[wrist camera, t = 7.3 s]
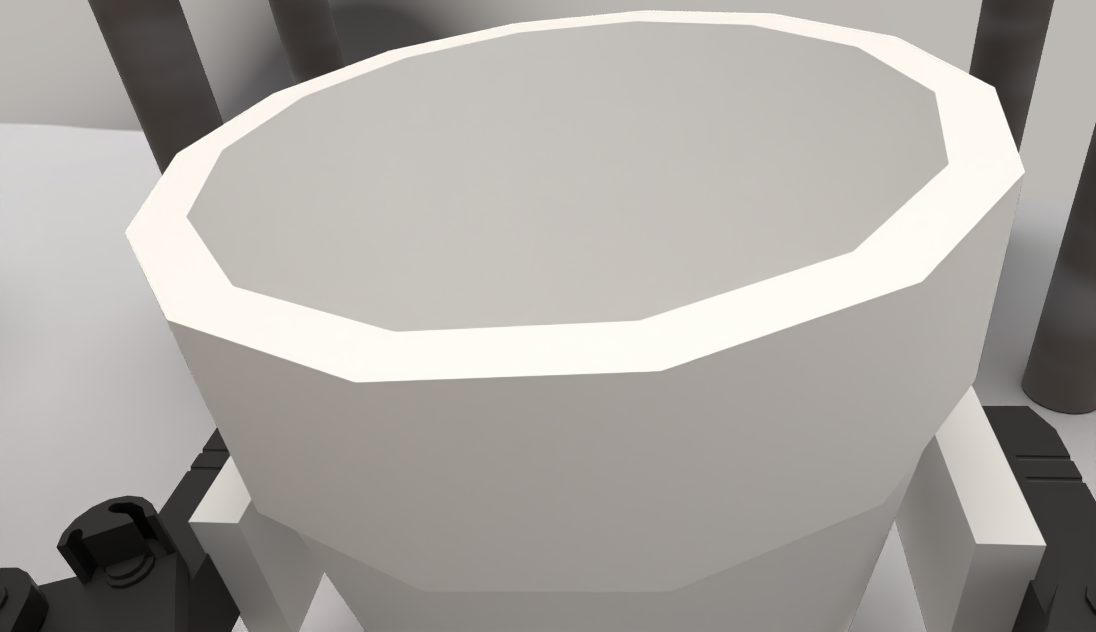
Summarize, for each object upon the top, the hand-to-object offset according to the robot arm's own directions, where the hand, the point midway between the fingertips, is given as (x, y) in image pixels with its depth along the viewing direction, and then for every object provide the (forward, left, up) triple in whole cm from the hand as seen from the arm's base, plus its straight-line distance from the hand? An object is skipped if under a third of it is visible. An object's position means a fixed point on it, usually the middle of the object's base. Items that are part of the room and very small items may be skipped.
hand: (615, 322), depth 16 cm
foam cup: (0, -4, -7) cm, 8 cm away
